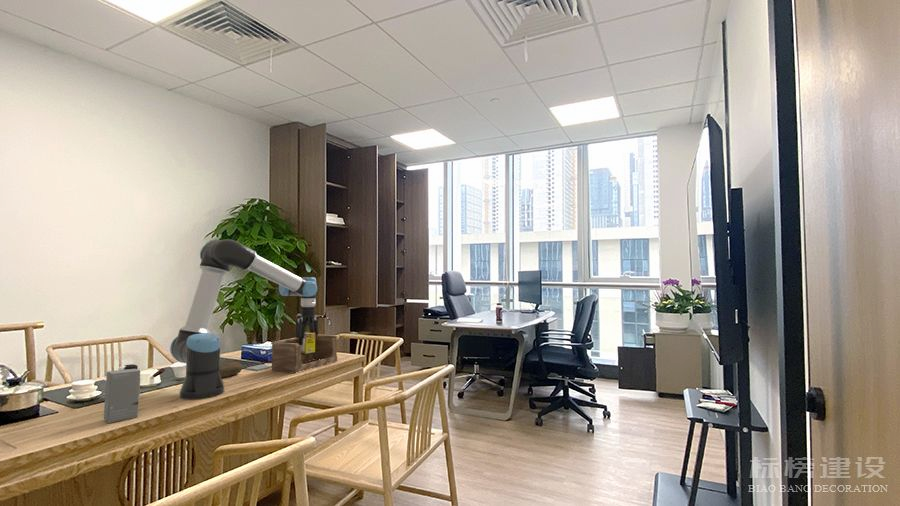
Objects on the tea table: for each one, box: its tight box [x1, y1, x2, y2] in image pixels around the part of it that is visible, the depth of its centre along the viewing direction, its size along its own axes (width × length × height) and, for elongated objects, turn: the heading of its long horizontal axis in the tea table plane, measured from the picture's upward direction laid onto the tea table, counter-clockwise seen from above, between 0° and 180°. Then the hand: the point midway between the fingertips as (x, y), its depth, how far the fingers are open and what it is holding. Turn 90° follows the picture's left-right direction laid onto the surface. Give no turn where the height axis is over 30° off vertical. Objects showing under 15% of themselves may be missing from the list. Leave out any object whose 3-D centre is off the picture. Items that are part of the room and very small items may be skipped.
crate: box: [270, 333, 339, 374], centre depth 216 cm, size 31×16×14 cm, turn 155°
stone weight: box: [219, 361, 243, 379], centre depth 192 cm, size 15×7×7 cm, turn 159°
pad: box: [245, 364, 272, 372], centre depth 210 cm, size 9×9×1 cm
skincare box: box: [103, 368, 141, 424], centre depth 137 cm, size 8×7×16 cm
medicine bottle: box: [117, 363, 141, 396], centre depth 162 cm, size 7×7×12 cm
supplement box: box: [301, 331, 315, 355], centre depth 217 cm, size 6×6×11 cm
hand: (306, 350), depth 217 cm, fingers closed on supplement box, 6 cm apart
